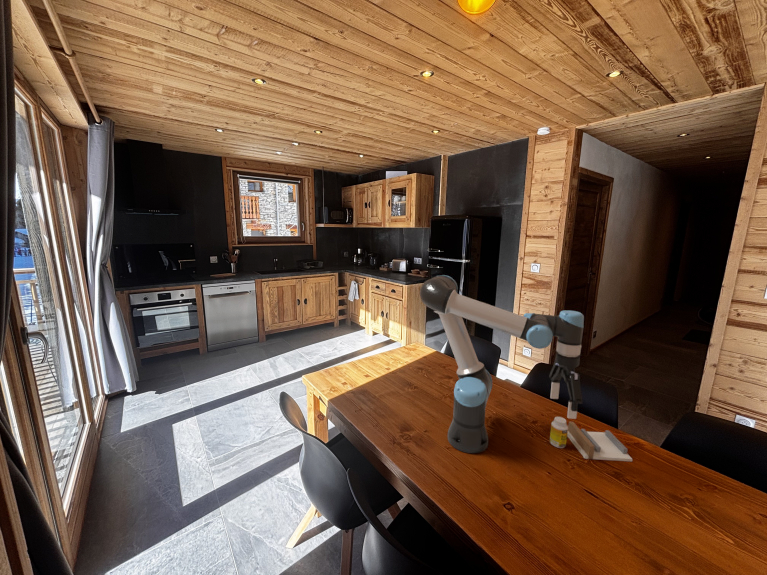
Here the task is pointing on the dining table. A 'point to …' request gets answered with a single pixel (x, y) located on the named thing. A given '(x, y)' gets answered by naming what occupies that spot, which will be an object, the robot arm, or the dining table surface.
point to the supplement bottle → (558, 432)
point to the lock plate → (597, 444)
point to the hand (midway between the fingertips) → (562, 407)
